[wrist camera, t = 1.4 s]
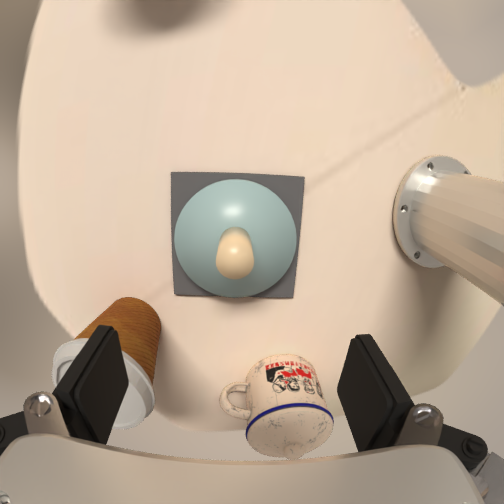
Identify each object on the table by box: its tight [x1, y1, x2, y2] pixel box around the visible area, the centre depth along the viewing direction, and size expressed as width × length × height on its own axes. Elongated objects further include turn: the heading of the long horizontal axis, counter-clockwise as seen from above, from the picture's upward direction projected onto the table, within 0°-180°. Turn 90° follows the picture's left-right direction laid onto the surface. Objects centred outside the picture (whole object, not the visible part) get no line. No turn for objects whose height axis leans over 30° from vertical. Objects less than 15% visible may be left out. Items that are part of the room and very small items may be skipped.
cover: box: [174, 179, 297, 298], centre depth 25 cm, size 11×11×6 cm
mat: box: [171, 172, 305, 298], centre depth 28 cm, size 12×12×1 cm
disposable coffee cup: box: [52, 297, 161, 429], centre depth 25 cm, size 10×10×12 cm
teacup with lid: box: [220, 354, 334, 459], centre depth 28 cm, size 12×9×12 cm
